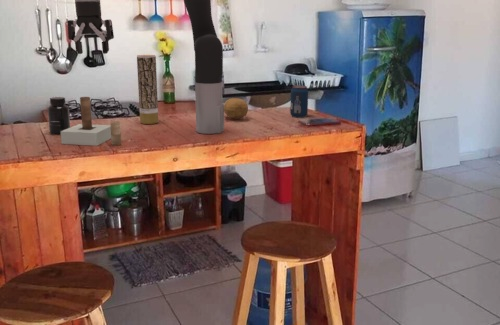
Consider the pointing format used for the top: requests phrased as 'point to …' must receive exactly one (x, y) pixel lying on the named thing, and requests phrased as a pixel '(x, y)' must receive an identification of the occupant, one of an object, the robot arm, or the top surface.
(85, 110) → the long pin
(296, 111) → the soda can
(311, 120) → the top surface
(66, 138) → the hole block
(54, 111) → the supplement bottle
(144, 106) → the paper tube
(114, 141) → the short pin
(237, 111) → the potato
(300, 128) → the top surface
